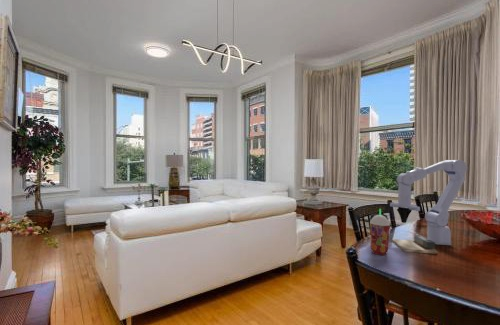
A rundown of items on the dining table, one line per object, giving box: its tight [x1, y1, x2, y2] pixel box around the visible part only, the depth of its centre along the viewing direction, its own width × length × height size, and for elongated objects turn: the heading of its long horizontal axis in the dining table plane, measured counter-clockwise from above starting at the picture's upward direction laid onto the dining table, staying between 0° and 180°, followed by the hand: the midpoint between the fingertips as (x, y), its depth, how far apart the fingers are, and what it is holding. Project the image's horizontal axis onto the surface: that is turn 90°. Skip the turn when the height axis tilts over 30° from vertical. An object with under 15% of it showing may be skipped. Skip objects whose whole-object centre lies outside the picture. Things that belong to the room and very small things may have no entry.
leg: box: [413, 233, 436, 250], centre depth 130 cm, size 12×4×3 cm, turn 176°
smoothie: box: [369, 208, 391, 256], centre depth 121 cm, size 8×8×20 cm
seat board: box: [391, 238, 438, 255], centre depth 130 cm, size 14×16×1 cm
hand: (403, 222), depth 139 cm, fingers closed
